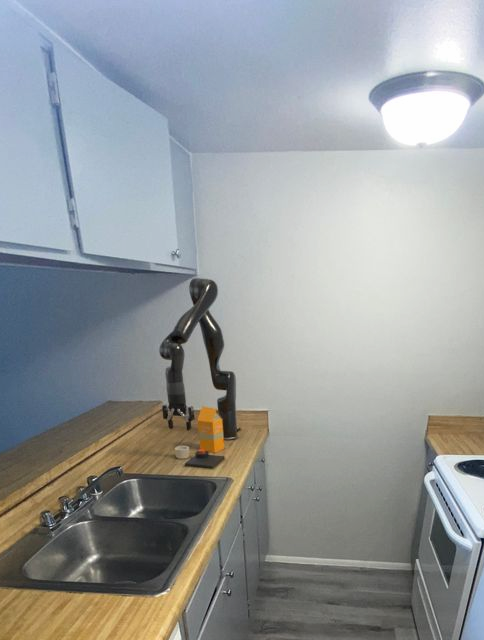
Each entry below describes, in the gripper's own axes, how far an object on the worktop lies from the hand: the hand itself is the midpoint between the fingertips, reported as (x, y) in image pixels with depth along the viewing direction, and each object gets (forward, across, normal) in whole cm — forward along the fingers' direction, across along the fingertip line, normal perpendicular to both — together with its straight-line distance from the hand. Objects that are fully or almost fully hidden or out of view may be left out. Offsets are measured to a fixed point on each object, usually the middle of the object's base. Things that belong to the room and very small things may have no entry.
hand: (180, 429), depth 211 cm
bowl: (+13, 0, 0) cm, 13 cm away
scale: (+13, -13, +4) cm, 19 cm away
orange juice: (+13, -8, -15) cm, 22 cm away
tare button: (+10, -10, -1) cm, 14 cm away
